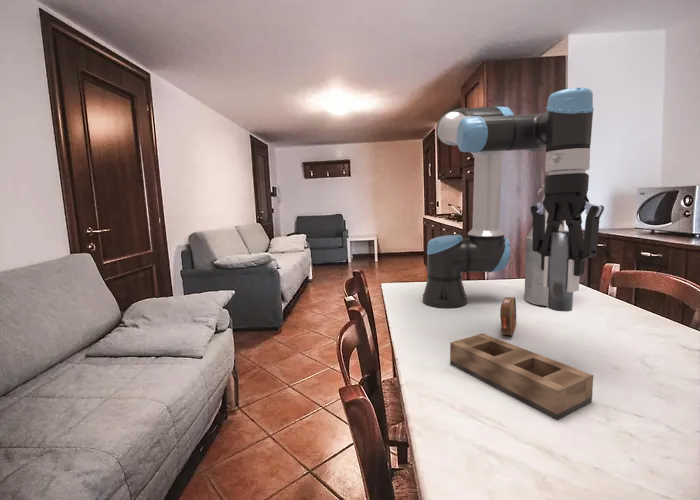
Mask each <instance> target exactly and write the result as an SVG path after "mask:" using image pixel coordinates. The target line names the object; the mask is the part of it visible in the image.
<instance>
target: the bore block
mask: <svg viewBox="0 0 700 500" xmlns="http://www.w3.org/2000/svg"><path fill="white" fill-rule="evenodd" d="M449 343H450V346H449V347H450V350H449V351H450V352H449V354H450V355H449V356H450V357H449V358H450V361H449V365H451V366H453V367H455V368H457V369H458V370H461V371H462V372H464V373H466V374H468V375H470V376H472V377H474V378H476V379H478V380H479V381H480V382H484V383H485V384H487V385H489V386H491V387H493V388H495V389H496V390H498V391H501V392H502V393H504V394H506V395H508V396H509V397H512V398H514V399H515V400H518V401H520V403H521V402H522V403H523V404H524V405H525V404H526V405H527V406H529V407H531V408H532V409H534V410H537V411H539V412H540V413H542V414H544V415H547V417H548V416H549V417H550V418H552V419H553V420H555V421H558V420H560V419H562V418H564V417H566V416H569V415H570V414H572V413H573V412H576V411H577V410H580V409H581V408H583V407H585V406H587V405H590V404H591V403H592V402H593V386H594V385H593V384H594V374H591V373H589V372H586V371H583V370H581V369H578V368H576V367H573V366H570V365H568V364H564V363H562V362H560V361H557V360H554V359H551V358H550V357H546V356H544V355H541V354H539V353H535V352H532V351H530V350H527V349H525V348H522V347H520V346H518V345H515V344H513V343H512V344H511V343H509V342H507V341H504V340H501V339H498V338H496V337H493V336H491V335H488V334H486V333H482V332H481V333H479V334H476V335H471V336H467V337H465V338H461V339H458V340H455V341H451V342H449Z"/></svg>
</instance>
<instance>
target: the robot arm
mask: <svg viewBox="0 0 700 500" xmlns="http://www.w3.org/2000/svg"><path fill="white" fill-rule="evenodd" d="M593 96H594V93H593V91H592V89H590V88H588V87H572V88H566V89H561V90H558V91H556V92H555V91H554V92H552V93H551V94H550V95H549V96H548V99H547V105H546V108H545V109H546V111H545V112H543V113H532V114H514V112H513V111H512V109H511V108H510V107H507V106H495V105H494V106H482V107H481V106H479V107H466V108H465V107H464V108H463V107H462V108H457V109H453V110H451V111H448V112H446V113H445V114H443V115H442V116H441V117H440V118H439V120H438V121H437V123H436V127H435V132H436V133H435V134H436V136H437V138H438V140H440V142H441V143H443V144H445V145H449V146H457V147H458V148H457V149H458V150H459V152H463V153H470V154H472V155H473V158H474V164H473V166H474V167H473V195H472V196H473V198H472V199H473V200H472V201H473V202H472V203H473V205H472V228H471V229H470V230H469V231H468V232H467V238H464V237H463V236H462V235H461V234H447V235H441V236H437V237H434V238H431V239H429V241H428V242H427V250H426V254H427V281H426V285H425V288H424V292H423V293H422V303H423V304H424V305H426V306H430V307H434V308H443V309H451V308H452V309H454V308H459V307H463V306H466V305H467V303H468V297H467V296H468V295H467V294H466V292H465V287H464V284H463V278H462V277H463V273H492V272H493V273H494V272H495V273H496V272H501V271H503V270H504V269H505V268H506V267H507V265H508V263H509V260H510V259H511V258H510V256H511V243H510V240H509V239H508V238H506V237H505V233H504V231H502V229H501V228H500V227H501V226H500V223H501V200H502V199H501V198H502V179H503V178H502V173H503V171H502V170H503V155H504V154H505V153H506V152H509V151H510V152H511V151H528V152H542V151H545V164H544V171H545V172H544V173H546V174H547V175H545V177H544V180H543V181H544V183H543V185H544V193H545V199H544V201H543V203H541V204H539V205H537V204H536V205H531V206H530V207H529V208H530V213H531V215H532V227H533V243H532V249H533V251H534V252H538V253H540V254H541V269H542V270H544V286H543V287H549V267H550V244H551V232H552V231H558V230H559V226H560V224H561V225H562V223H563V221H565V225H566V226H567V231H569V236H570V242H571V248H572V254H573V257H572V258H571V259H570V260H569V264H568V283H567V292H573V293H574V292H575V293H576V292H578V291H580V277H581V276H584V274H585V264H586V259H589V258H594V257H596V256H597V253H598V251H597V250H598V240H599V232H600V231H599V230H600V218H601V216H602V215H603V212H604V210H605V207H604V205H596V204H594V203H591V202H590V200H589V198H588V191H589V182H590V181H589V179H590V175H589V174H588V172H587V173H586V171H589V169H590V168H591V167H590V166H591V165H590V164H591V163H590V160H591V142H592V131H593V119H594V118H593V117H594V116H593V115H594V109H595V108H594V105H593V103H594V97H593ZM545 209H546V210H545ZM546 211H547V212H548V218H547V222H546V223H547V227H546V231H545V212H546ZM584 211H585V215H586V217H585V223H584V233H583V228H582V224H583V219H582V214H583V212H584ZM583 234H584V235H583Z"/></svg>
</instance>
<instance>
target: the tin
mask: <svg viewBox="0 0 700 500" xmlns="http://www.w3.org/2000/svg"><path fill="white" fill-rule="evenodd" d="M499 310H500V311H499V317H500V318H499V319H500V325H501V327H500V332H501V335H503V336H510V337H513V336H514V334H515V330H516V326H517V302H516V297H508V296H507V297H504V298H503V300H502V303H501V305H500V309H499Z"/></svg>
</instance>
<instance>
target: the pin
mask: <svg viewBox="0 0 700 500" xmlns="http://www.w3.org/2000/svg"><path fill="white" fill-rule="evenodd" d="M572 257H573V254H572V248H571V242H570V236H569V231H568V230H565V231H552V232H551V244H550V267H549V291H548V306H547V308H548V310H549V309H550V310H552V311H554V312H555V311H556V312H567V313H568V312H572V311H573V301H574V292H567V283H568V264H569V260H570V259H571V258H572Z"/></svg>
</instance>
